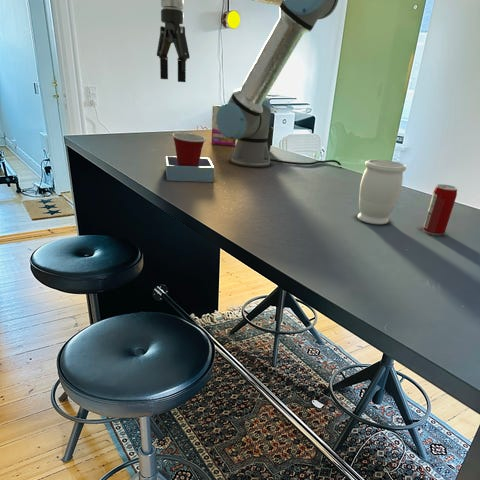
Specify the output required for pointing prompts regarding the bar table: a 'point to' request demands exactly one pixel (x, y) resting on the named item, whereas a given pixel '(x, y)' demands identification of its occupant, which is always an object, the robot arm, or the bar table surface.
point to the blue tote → (189, 171)
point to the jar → (379, 190)
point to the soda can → (440, 209)
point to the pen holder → (269, 138)
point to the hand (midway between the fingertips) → (172, 80)
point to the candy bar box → (216, 135)
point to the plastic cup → (188, 148)
